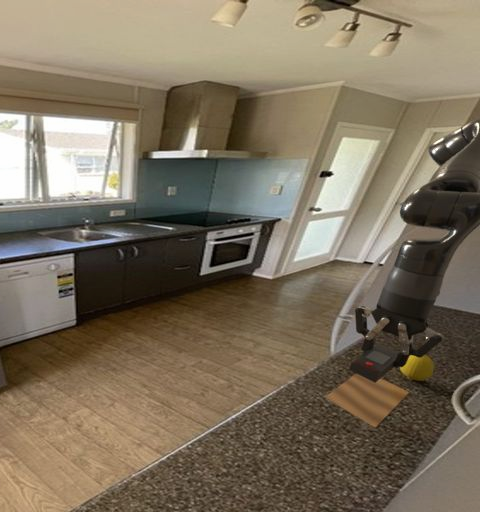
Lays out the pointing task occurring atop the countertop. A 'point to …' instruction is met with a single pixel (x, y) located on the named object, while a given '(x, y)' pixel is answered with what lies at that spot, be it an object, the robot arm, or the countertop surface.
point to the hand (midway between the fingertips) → (381, 359)
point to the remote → (374, 362)
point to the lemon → (418, 368)
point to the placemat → (367, 398)
